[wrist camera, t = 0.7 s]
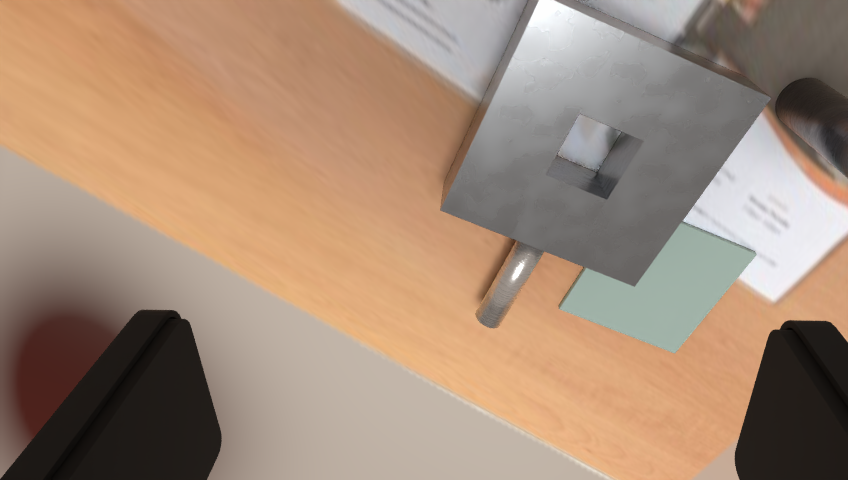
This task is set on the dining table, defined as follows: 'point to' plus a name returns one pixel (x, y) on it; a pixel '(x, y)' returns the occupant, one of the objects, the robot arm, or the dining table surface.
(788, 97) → the grey cylinder
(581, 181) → the block
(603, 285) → the mat
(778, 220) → the dining table surface
